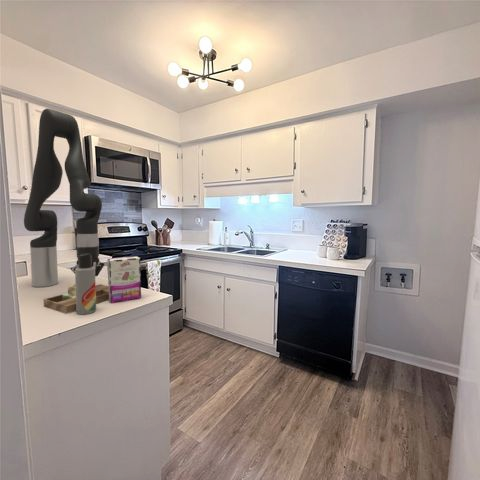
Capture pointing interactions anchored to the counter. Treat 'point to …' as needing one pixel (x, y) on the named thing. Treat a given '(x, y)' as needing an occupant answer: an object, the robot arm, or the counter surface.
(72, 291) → the beech block
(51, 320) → the counter surface
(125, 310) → the counter surface
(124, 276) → the candy bar box
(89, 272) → the lotion bottle
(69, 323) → the counter surface
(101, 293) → the board
